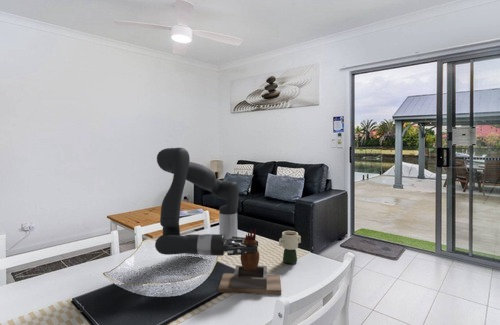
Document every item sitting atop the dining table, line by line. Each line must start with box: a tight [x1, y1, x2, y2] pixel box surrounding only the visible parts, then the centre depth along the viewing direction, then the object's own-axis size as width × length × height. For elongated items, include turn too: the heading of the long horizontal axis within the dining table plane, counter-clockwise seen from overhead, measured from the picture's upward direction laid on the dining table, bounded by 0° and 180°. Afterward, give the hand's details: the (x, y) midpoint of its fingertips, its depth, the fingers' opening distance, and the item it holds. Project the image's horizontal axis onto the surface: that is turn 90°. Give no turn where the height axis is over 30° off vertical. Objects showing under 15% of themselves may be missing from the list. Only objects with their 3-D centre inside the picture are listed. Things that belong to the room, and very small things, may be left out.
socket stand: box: [217, 265, 282, 296], centre depth 105 cm, size 12×22×5 cm, turn 86°
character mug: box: [278, 230, 302, 264], centre depth 126 cm, size 11×7×13 cm, turn 113°
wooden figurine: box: [240, 228, 260, 271], centre depth 104 cm, size 7×6×15 cm
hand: (257, 246), depth 104 cm, fingers closed on wooden figurine, 4 cm apart
